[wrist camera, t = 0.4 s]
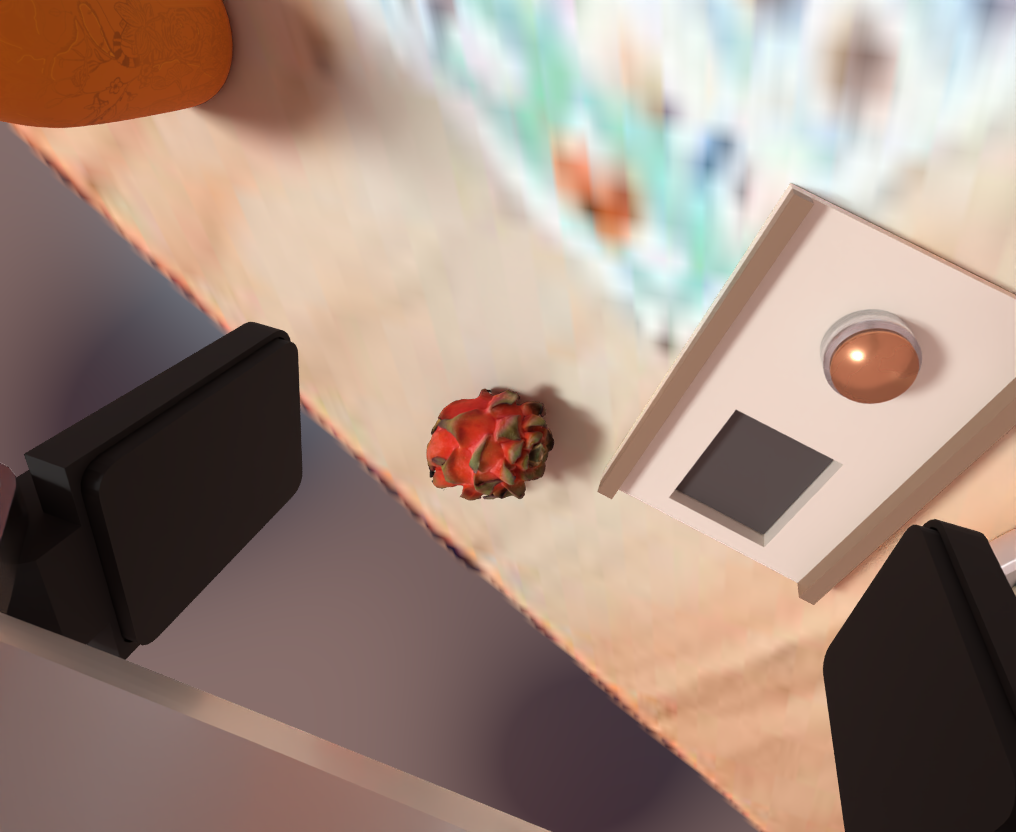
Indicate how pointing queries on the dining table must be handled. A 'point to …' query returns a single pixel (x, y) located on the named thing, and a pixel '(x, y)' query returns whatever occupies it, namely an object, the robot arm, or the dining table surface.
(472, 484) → the dragon fruit
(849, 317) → the puck
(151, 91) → the wine bottle
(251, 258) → the dining table surface
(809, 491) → the board
